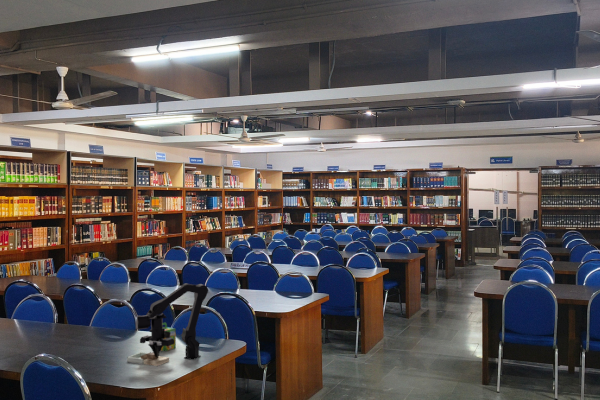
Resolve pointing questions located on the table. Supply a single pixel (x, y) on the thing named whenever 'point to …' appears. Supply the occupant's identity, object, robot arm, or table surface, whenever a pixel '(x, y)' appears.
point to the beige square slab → (156, 361)
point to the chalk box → (172, 335)
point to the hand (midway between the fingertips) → (157, 357)
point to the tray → (136, 358)
